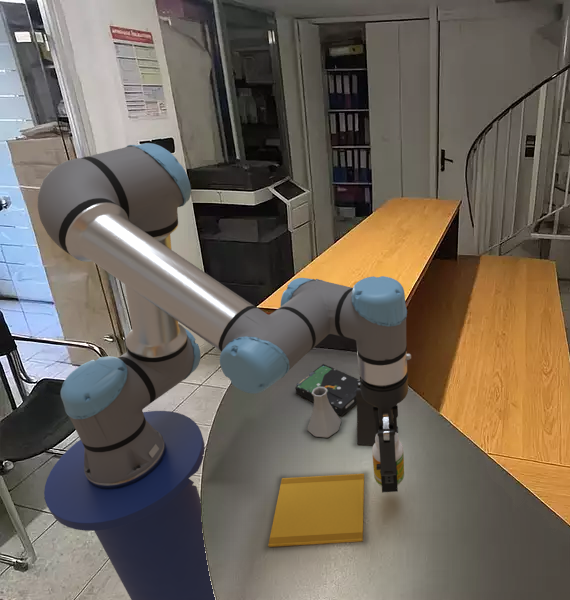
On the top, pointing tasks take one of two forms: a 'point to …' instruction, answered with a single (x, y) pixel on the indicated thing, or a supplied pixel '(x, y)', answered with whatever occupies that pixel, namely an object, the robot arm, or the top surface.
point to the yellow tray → (319, 510)
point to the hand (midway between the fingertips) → (389, 475)
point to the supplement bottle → (398, 456)
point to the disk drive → (331, 387)
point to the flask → (323, 415)
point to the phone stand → (365, 421)
